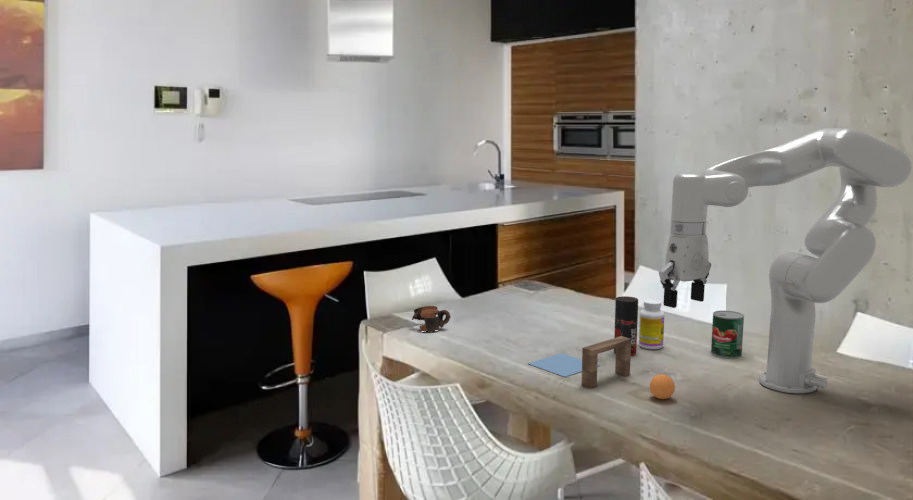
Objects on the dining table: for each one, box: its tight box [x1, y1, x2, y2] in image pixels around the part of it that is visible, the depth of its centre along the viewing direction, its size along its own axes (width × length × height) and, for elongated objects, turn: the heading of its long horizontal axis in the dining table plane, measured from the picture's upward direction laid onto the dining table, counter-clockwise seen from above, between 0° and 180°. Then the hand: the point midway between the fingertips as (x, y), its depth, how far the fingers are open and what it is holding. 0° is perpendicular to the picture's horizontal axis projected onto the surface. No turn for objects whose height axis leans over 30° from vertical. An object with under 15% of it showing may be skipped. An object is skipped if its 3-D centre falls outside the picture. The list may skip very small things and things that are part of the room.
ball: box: [649, 374, 676, 400], centre depth 166 cm, size 6×6×6 cm
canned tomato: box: [710, 310, 745, 359], centre depth 197 cm, size 8×8×11 cm
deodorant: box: [613, 296, 639, 357], centre depth 198 cm, size 6×6×15 cm
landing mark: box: [527, 352, 600, 378], centre depth 190 cm, size 13×13×1 cm
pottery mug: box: [411, 305, 451, 332], centre depth 223 cm, size 12×10×8 cm
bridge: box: [581, 336, 632, 389], centre depth 178 cm, size 3×14×9 cm, turn 129°
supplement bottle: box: [638, 299, 665, 350], centre depth 203 cm, size 7×7×13 cm
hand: (683, 303), depth 167 cm, fingers open, 9 cm apart
